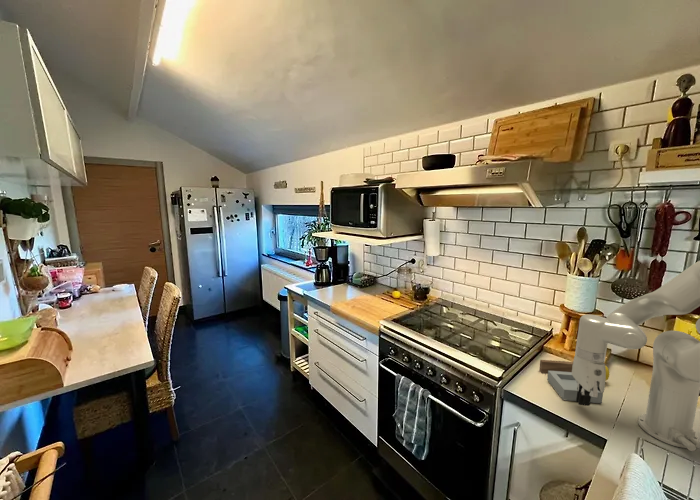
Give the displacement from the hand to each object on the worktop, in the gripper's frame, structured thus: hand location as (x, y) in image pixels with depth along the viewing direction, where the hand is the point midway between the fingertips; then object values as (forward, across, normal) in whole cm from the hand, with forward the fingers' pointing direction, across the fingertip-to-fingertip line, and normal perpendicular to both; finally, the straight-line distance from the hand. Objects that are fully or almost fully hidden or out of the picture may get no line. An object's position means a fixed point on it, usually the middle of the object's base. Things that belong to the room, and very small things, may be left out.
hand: (582, 403), depth 98 cm
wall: (+3, +23, -3) cm, 23 cm away
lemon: (+3, +19, -16) cm, 25 cm away
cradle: (+3, +11, -3) cm, 11 cm away
